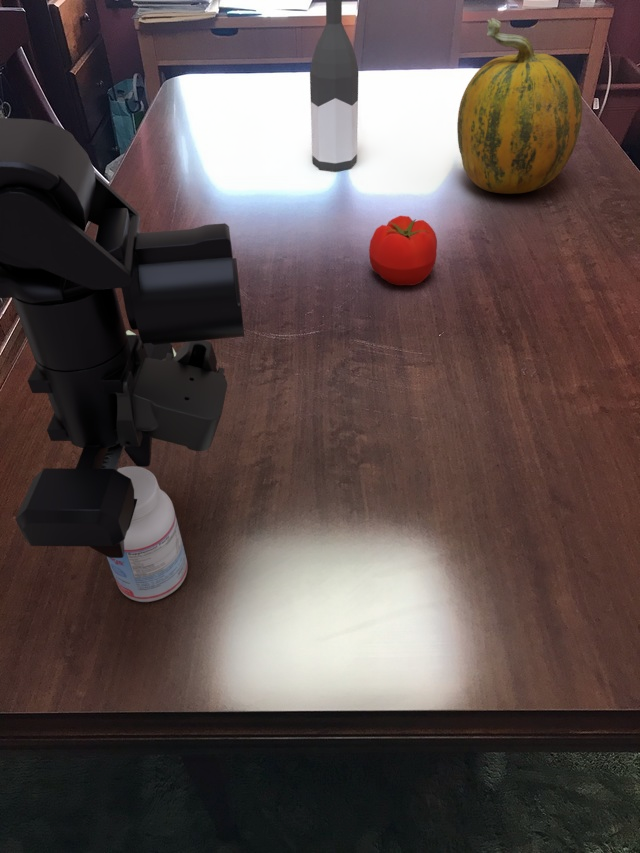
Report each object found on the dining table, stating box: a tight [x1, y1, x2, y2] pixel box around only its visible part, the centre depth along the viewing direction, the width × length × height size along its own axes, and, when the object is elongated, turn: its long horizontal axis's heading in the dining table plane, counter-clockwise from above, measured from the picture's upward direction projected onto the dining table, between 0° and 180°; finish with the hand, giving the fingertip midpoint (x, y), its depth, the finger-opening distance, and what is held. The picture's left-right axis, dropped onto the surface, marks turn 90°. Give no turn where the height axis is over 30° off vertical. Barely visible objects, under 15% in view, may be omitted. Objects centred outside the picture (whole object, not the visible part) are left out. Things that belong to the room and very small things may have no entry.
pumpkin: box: [456, 17, 583, 195], centre depth 108 cm, size 19×19×25 cm
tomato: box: [368, 215, 438, 286], centre depth 93 cm, size 9×9×8 cm
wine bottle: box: [309, 0, 359, 173], centre depth 114 cm, size 8×8×30 cm
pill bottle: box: [106, 465, 189, 603], centre depth 56 cm, size 6×6×11 cm
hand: (131, 507), depth 53 cm, fingers open, 9 cm apart
